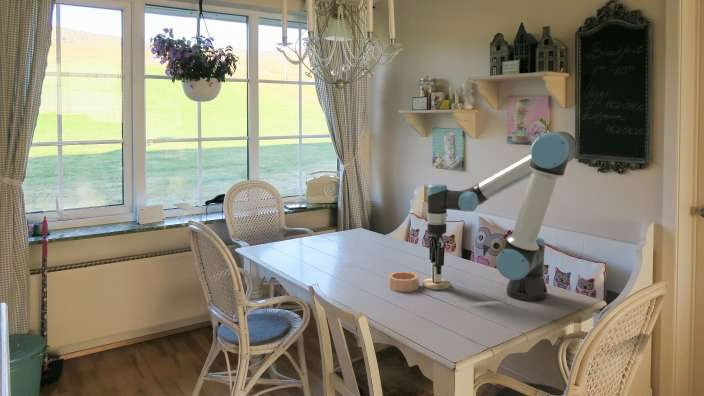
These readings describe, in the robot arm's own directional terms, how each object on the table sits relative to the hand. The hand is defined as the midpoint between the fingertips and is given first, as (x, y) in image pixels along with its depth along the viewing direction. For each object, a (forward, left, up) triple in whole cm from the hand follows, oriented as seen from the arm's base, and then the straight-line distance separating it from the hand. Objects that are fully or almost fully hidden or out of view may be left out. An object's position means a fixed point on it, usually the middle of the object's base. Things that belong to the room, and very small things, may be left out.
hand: (436, 280), depth 213 cm
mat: (0, 0, -4) cm, 4 cm away
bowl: (+2, +13, -4) cm, 14 cm away
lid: (0, 0, -2) cm, 2 cm away
